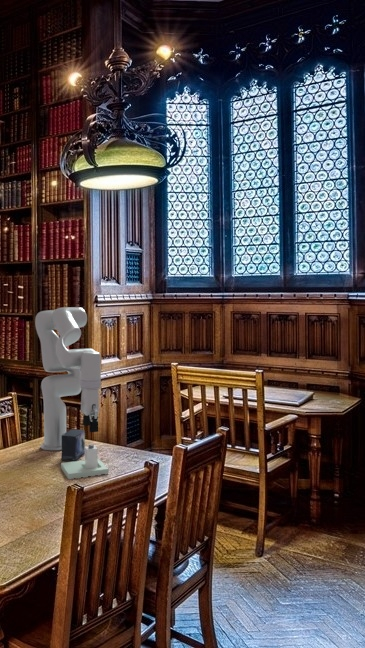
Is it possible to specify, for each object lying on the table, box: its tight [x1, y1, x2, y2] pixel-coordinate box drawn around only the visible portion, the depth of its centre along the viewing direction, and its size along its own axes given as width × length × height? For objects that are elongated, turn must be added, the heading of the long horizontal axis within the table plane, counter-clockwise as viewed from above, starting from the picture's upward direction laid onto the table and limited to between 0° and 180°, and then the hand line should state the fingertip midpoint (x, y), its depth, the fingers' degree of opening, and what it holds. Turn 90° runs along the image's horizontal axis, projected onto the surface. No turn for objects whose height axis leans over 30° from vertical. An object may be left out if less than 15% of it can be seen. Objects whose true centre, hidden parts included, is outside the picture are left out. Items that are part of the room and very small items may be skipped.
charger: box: [84, 444, 99, 469], centre depth 211 cm, size 4×4×10 cm
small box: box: [60, 428, 86, 462], centre depth 229 cm, size 11×6×10 cm, turn 168°
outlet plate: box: [60, 457, 110, 480], centre depth 211 cm, size 14×15×2 cm
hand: (90, 428), depth 211 cm, fingers open, 9 cm apart
